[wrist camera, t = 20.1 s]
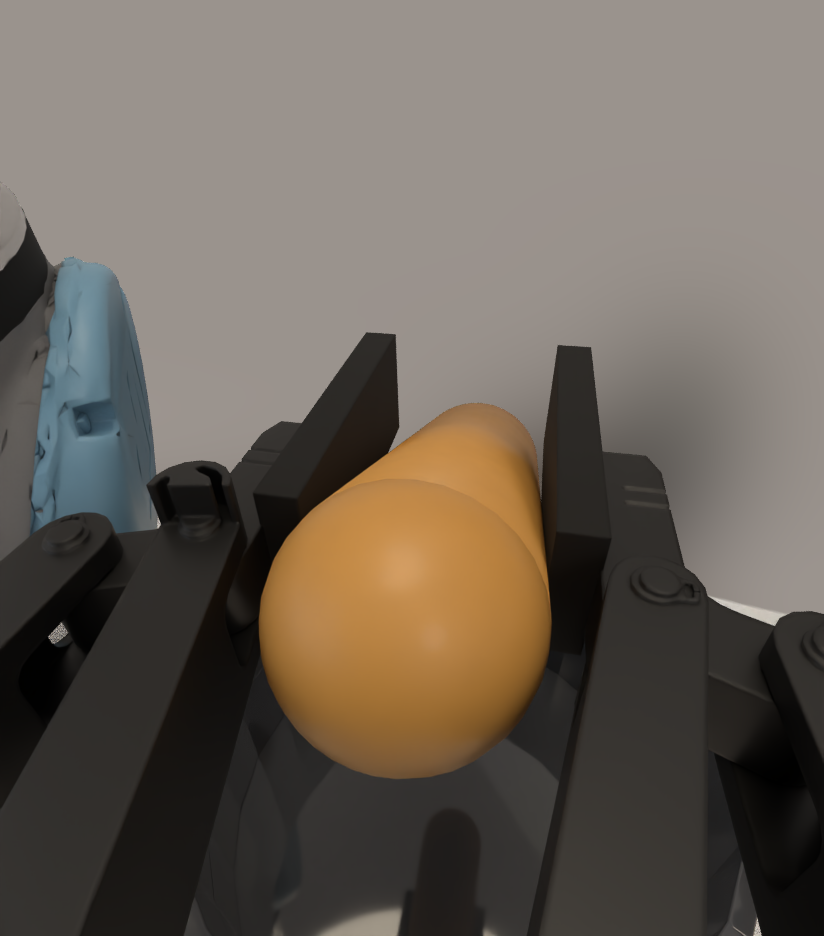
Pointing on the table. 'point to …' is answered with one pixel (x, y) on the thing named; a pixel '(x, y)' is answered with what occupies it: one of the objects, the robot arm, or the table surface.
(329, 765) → the pot
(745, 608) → the table surface
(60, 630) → the table surface
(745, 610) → the table surface
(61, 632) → the table surface
